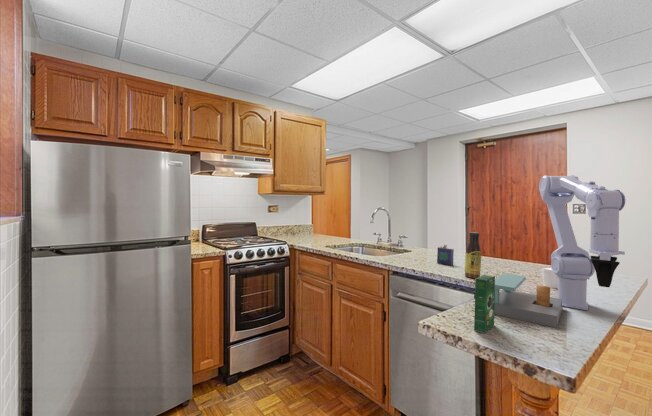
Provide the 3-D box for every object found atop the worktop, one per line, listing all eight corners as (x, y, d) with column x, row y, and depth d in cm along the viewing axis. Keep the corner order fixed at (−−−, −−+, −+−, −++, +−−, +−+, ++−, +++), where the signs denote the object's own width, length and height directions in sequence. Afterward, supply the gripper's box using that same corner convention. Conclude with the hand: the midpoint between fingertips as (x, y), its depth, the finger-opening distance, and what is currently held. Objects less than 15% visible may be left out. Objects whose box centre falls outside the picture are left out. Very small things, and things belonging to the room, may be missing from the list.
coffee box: (483, 322, 82) (484, 273, 82) (495, 325, 80) (496, 274, 80) (473, 330, 77) (474, 277, 76) (485, 334, 75) (486, 280, 74)
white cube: (539, 286, 122) (540, 268, 122) (542, 283, 127) (543, 266, 127) (561, 289, 117) (562, 271, 117) (563, 286, 122) (564, 269, 122)
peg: (536, 311, 92) (537, 284, 92) (550, 314, 90) (550, 286, 89) (535, 314, 89) (536, 286, 89) (548, 317, 87) (549, 288, 87)
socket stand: (503, 298, 105) (503, 273, 105) (562, 308, 94) (562, 281, 94) (488, 312, 90) (489, 283, 90) (556, 327, 79) (557, 294, 79)
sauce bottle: (471, 279, 132) (472, 233, 132) (461, 275, 139) (462, 231, 138) (484, 278, 134) (485, 232, 134) (473, 275, 140) (474, 231, 140)
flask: (454, 265, 163) (454, 245, 163) (451, 266, 162) (451, 245, 161) (438, 262, 171) (438, 243, 171) (435, 263, 169) (435, 244, 169)
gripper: (627, 236, 76) (626, 291, 76) (622, 233, 87) (621, 282, 87) (589, 234, 80) (588, 286, 80) (589, 232, 91) (588, 278, 91)
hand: (603, 284), depth 84 cm, fingers open, 7 cm apart
